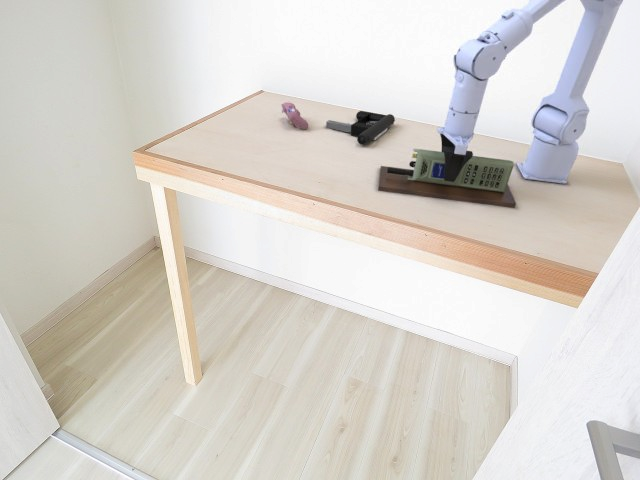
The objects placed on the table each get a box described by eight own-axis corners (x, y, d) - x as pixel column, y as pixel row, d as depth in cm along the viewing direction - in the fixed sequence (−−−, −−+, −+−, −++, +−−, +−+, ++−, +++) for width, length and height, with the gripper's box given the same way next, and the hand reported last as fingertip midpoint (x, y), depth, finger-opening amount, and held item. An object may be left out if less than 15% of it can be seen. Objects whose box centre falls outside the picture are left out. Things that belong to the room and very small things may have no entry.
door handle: (315, 125, 110) (371, 136, 103) (349, 105, 124) (400, 114, 117) (315, 137, 111) (370, 149, 105) (348, 116, 126) (399, 126, 119)
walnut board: (505, 184, 93) (506, 181, 93) (514, 207, 85) (516, 203, 85) (380, 169, 96) (380, 165, 96) (378, 190, 88) (378, 186, 87)
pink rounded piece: (287, 123, 121) (276, 101, 116) (300, 115, 120) (290, 93, 116) (295, 136, 113) (284, 114, 109) (310, 128, 113) (299, 105, 108)
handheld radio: (505, 194, 88) (386, 178, 90) (502, 187, 90) (386, 172, 93) (515, 165, 84) (391, 149, 87) (511, 159, 87) (391, 143, 89)
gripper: (440, 95, 87) (426, 156, 95) (446, 119, 75) (430, 185, 83) (475, 99, 86) (458, 159, 94) (486, 123, 74) (466, 190, 82)
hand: (447, 172), depth 89 cm, fingers open, 7 cm apart
